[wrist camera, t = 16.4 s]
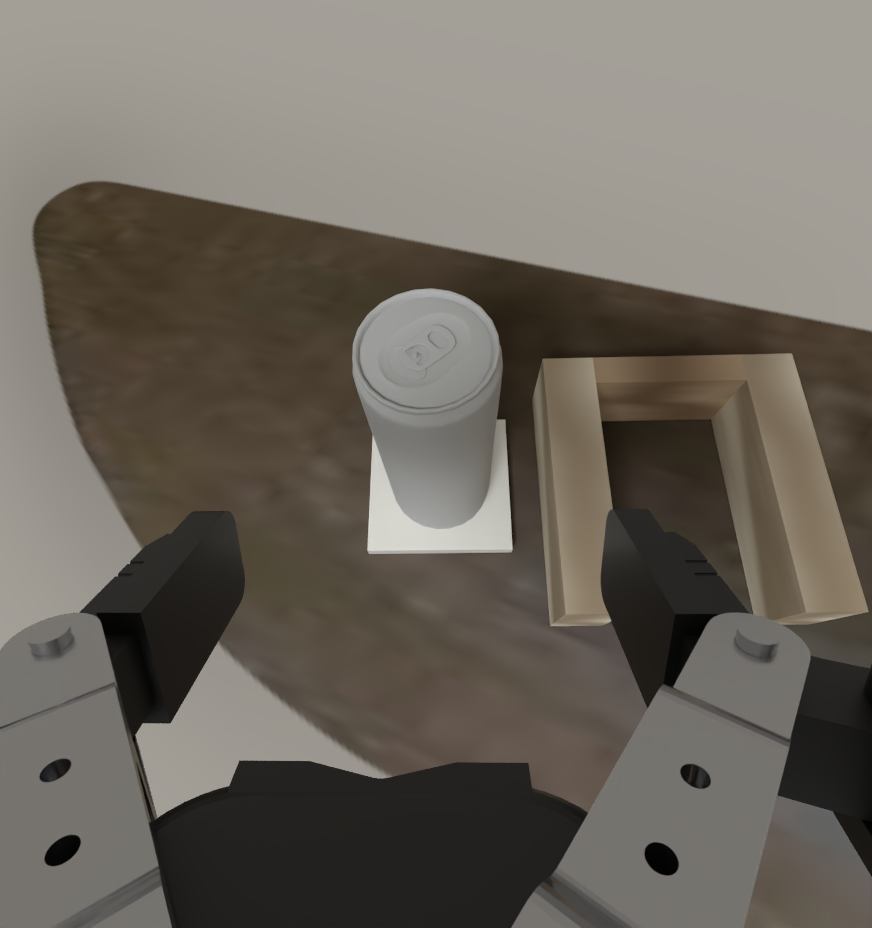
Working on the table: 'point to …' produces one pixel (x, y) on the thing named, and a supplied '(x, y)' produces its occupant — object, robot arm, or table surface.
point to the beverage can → (431, 400)
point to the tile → (474, 536)
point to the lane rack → (743, 465)
